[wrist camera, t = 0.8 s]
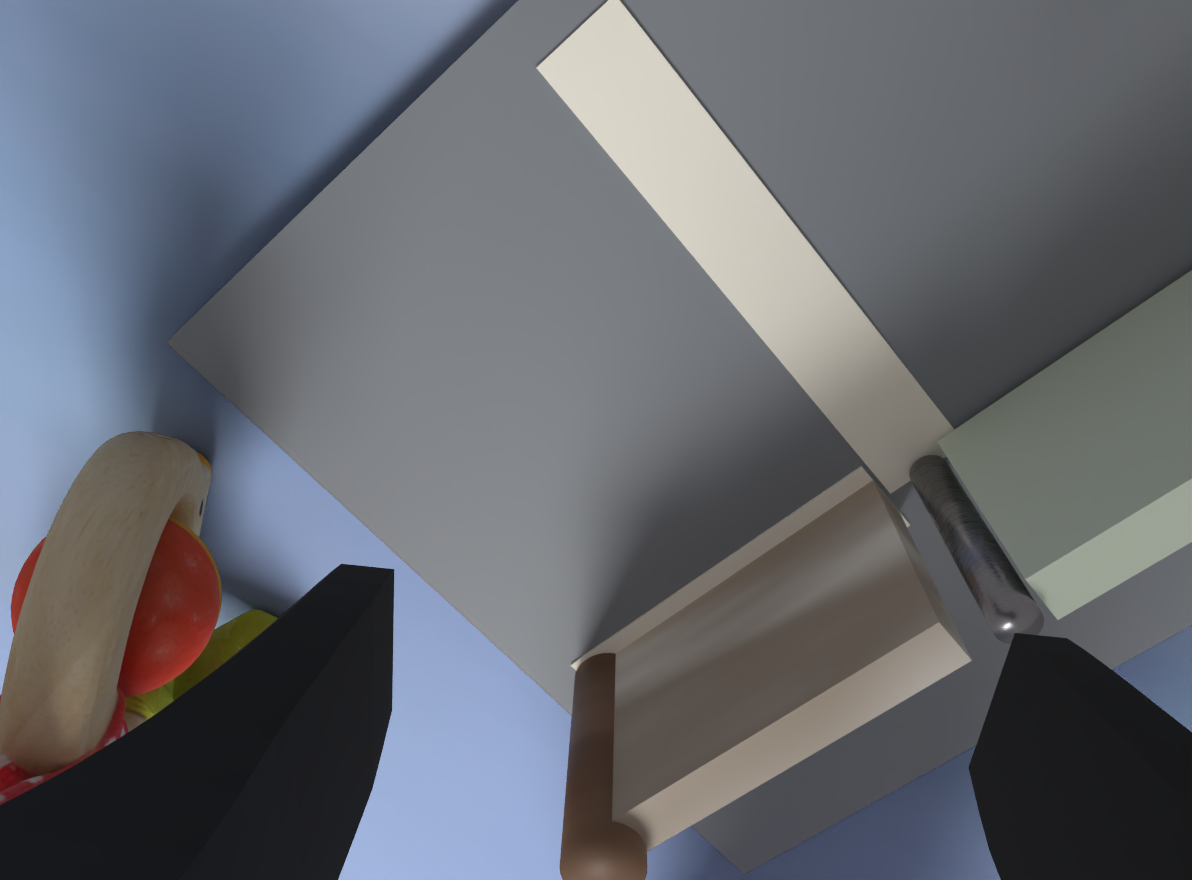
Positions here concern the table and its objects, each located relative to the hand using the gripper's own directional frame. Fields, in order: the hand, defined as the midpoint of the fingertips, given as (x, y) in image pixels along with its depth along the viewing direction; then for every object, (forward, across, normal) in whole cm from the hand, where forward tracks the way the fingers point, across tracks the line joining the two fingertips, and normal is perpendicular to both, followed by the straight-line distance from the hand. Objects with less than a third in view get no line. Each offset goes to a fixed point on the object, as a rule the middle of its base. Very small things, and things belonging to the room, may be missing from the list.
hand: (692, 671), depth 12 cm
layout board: (+10, -4, -1) cm, 11 cm away
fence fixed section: (+9, -2, +5) cm, 11 cm away
